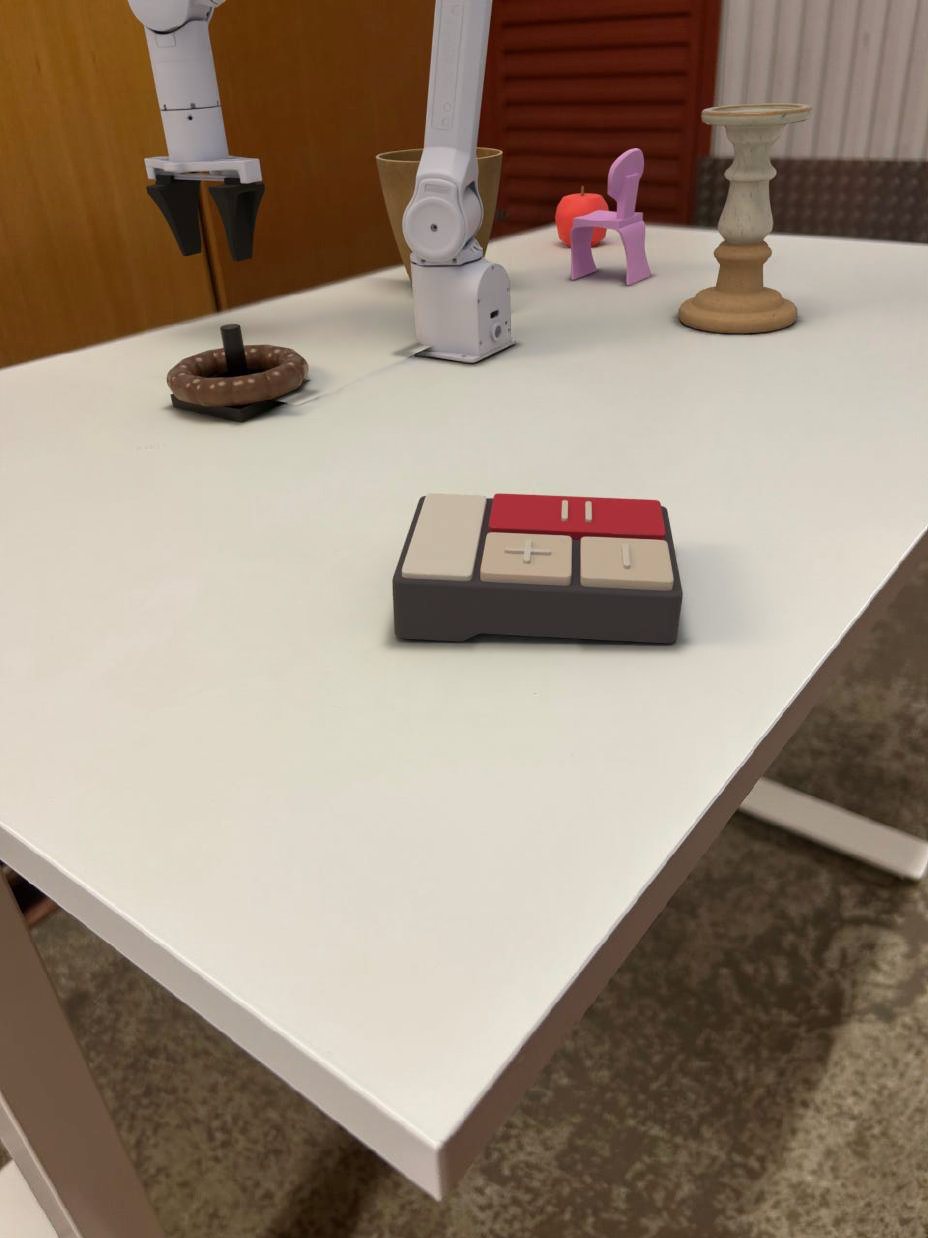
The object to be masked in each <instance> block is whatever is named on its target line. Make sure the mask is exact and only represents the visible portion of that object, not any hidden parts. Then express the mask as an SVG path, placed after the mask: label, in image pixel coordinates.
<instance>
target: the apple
mask: <svg viewBox="0 0 928 1238" xmlns="http://www.w3.org/2000/svg"><path fill="white" fill-rule="evenodd" d="M580 186H581V185H580ZM598 210H601V211H610V210H609V204H608V203H607V202H606V200H605V198H604V196H603V195H601V194H598V193H591V192H590V193H587V192H585V186H584V185H582V186H581V187H580V193H573V194H568V195H565V196H562V198H561V199H560V201H559V202H558V204H557V206H556V211H555V215H554V219H555V225H556V230H557V234H558V236H557V237H558V239H559V240H560V241H562V242H563V243H564V244H566V245H567V246H568V247H569V248H571V242H570V230H571V228H572V227H573V218H576V217H580V216H585V215H588V214H590V213H592V212H595V211H598ZM607 231H608V229H607V228H602V227H595V228H594V231H593V234H592V239H591V248H592V247H594V246H596V245H597V244H598V243H600V242H601V241H602V240H604V239H605V238H606V235H607Z"/></svg>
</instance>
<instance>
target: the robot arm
mask: <svg viewBox="0 0 928 1238" xmlns="http://www.w3.org/2000/svg"><path fill="white" fill-rule="evenodd" d="M226 1H227V0H127V3H128V6H129V8H130V10H131V11H132V13H133V15H134V17H136V19H137V20H138V21H139V22H140V23H141V24H142V25H143V28H144V33H145V39H146V44H147V48H148V54H149V59H150V65H151V71H152V74H153V81H154V85H155V92H156V97H157V101H158V107H159V111H160V117H161V122H162V126H163V133H164V137H165V143H166V148H167V153H168V156H164V155H163V156H161V155H160V156H152V157H146V158H144V159H143V160H144V165H145V170H146V174H147V179H148V180H155V181H154V184H149V185H146V186H145V189H146V193H147V195H148V196H149V197H150V198H151V199H152V201H153V202H154V203H155V205H156V206H157V208H158V209H159V211H160V212H161V214H162V215H163V217H164V219H165V221H166V222H167V224H168V226H169V228H170V230H171V232H172V235H173V237H174V239H175V242H176V244H177V246H178V248H179V251H180V253H181V256H182V257H190V256H195V255H198V254H201V253H202V251H203V250H202V249H203V246H202V245H203V244H202V243H203V242H202V233H201V227H200V218H199V217H200V216H199V198H200V188H201V181H209V182H210V181H213V182H223V183H224V184H223V183H222V184H218V185H212V186H208V187H207V190H208V193H209V195H210V196H211V198H212V200H213V202H214V204H215V206H216V209H217V210H218V213H219V216H220V218H221V221H222V224H223V228H224V232H225V236H226V241H227V245H228V250H229V253H230V256H231V258H232V261H233V262H236V263H239V262H243V261H246V260H251V259H252V258H253V253H254V252H253V251H254V238H255V229H256V221H257V216H258V212H259V209H260V205H261V202H262V200H263V196H264V194H265V191H266V186H265V182H263V177H262V170H261V162H260V159H259V158H249V157H241V156H235V155H230V153H229V147H228V141H227V136H226V129H225V123H224V116H223V110H222V105H221V98H220V93H219V92H220V91H219V86H218V80H217V75H216V74H217V73H216V67H215V61H214V56H213V55H214V54H213V51H212V45H211V40H210V32H209V24H210V21H211V19H212V18H213V15H214V11H215V8H218V7H220V6H221V5H222V4H223V3H225V2H226ZM434 5H435V6H434V15H433V16H434V17H433V18H434V19H433V28H432V30H433V31H432V43H431V55H430V56H431V57H430V67H429V79H428V90H427V91H428V92H427V104H426V118H425V127H424V128H425V129H424V139H423V140H424V141H423V149H424V150H423V153H422V157H421V160H420V164H419V167H418V171H417V175H416V184H415V191H414V195H413V197H412V199H411V201H410V202H409V204H408V206H407V207H406V210H405V212H404V215H403V221H402V228H403V234H404V238H405V240H406V243H407V244H408V246H409V248H410V249H411V250H412V251H413V252H412V253H411V254H410V260H411V274H412V283H411V286H412V287H411V288H412V297H413V299H412V300H413V311H414V323H415V325H414V326H415V338H416V342H418V343H419V344H421V345H424V346H429V347H427V348H425V349H422V350H420V351H417V352H415V353H414V355H419V356H425V357H432V358H438V359H444V360H452V361H457V362H463V363H470V364H471V363H477V362H479V361H481V360H483V359H485V358H488V357H489V356H492V355H493V354H496V353H498V352H500V351H502V350H504V349H507V348H508V347H510V346H512V345H514V344H516V338H514V337H512V313H511V312H512V310H511V283H510V279H509V275H508V272H507V270H506V268H505V267H504V266H503V265H501V264H500V263H497V262H492V261H489V260H488V259H486V258H484V257H483V249H482V247H480V245H479V243H478V242H477V240H476V239H475V238H474V236H475V235H476V233H477V232H478V231H479V229H480V227H481V224H482V221H483V204H482V201H481V198H480V195H479V192H478V172H479V169H478V162H477V155H476V148H477V147H478V138H479V129H480V119H481V109H482V108H481V107H482V102H483V101H482V100H483V92H484V91H483V90H484V84H485V83H484V82H485V71H486V64H487V55H488V45H489V44H488V43H489V37H490V26H491V16H492V7H493V0H435V4H434ZM191 172H193V173H191ZM195 172H209V173H195Z"/></svg>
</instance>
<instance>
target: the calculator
mask: <svg viewBox="0 0 928 1238" xmlns="http://www.w3.org/2000/svg"><path fill="white" fill-rule="evenodd" d="M391 582H392V605H393V628H394V629H393V630H394V635H395V637H397V638H398V639H407V640H421V641H422V640H424V641H440V642H441V641H442V642H461V643H462V642H464V641H466V640H469V639H471V638H473V637H475V636H477V635H481V634H484V635H485V634H487V635H506V636H525V637H540V638H542V637H543V638H562V639H577V640H578V639H579V640H580V639H581V640H594V641H595V640H596V641H597V640H598V641H614V642H615V641H617V642H633V643H638V642H639V643H651V644H652V643H653V644H673V643H675V642H676V641H677V639H678V632H679V627H680V618H681V612H682V611H681V610H682V604H683V595H684V593H683V587H682V582H681V577H680V571H679V565H678V561H677V555H676V549H675V544H674V540H673V532H672V528H671V522H670V516H669V512H668V508H667V507H666V506H664V505H662V503H661V501H660V500H658V499H647V498H646V499H643V498H619V497H598V496H597V497H596V496H571V495H570V496H569V495H549V494H527V493H526V494H524V493H522V494H521V493H494V495H493V498H491V497H487V496H486V495H479V494H477V495H476V494H455V493H454V494H453V493H435V492H434V493H427V494H426V495H423V496H420V498H419V500H418V502H417V505H416V507H415V511H414V513H413V517H412V519H411V523H410V525H409V528H408V531H407V534H406V538H405V541H404V543H403V546H402V549H401V553H400V555H399V558H398V562H397V564H396V566H395V570H394V573H393V577H392V581H391Z"/></svg>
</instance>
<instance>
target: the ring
mask: <svg viewBox="0 0 928 1238" xmlns="http://www.w3.org/2000/svg"><path fill="white" fill-rule="evenodd" d="M244 349H245V355H246V361H247V367H248V371H263V372H261V373H256V374H250V375H245V376H239V377H226V378H216V377H219V376H221V375H224V374H228V370H227V364H226V359H225V353H224V348H223V347H220V348H214V349H207V350H204V351H203V352H198V353H197V354H194V355H191V356H188V357H184V358H182V359H181V360H180V361H179V362H177V363H176V364H175V365H174V366H173V367H172V368H171V369H170V370H168V373H166V379H165V380H166V385H167V386H168V388H169V390H170V391H171V393H172V394H174V395H175V396H176V398H178V399H179V400H181V401H184V402H188V403H193V404H197V405H202V406H240V405H246V404H251V403H256V402H262V401H267V400H275V399H277V398H279V397H281V396H284V395H285V394H288V393H291V392H294V391H296V390H297V389H299V387H300V386H301V385H302V384H301V383H302V382H303V380H304V379H307V377H308V375H309V370H310V367H309V366H310V365H309V364H308V361H307V360H306V359H305V357H304V356H302V355H301V354H300V353H299V352H297V351H296V350H294V349H293V348H290V347H284V346H278V345H274V344H273V345H272V344H244Z"/></svg>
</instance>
